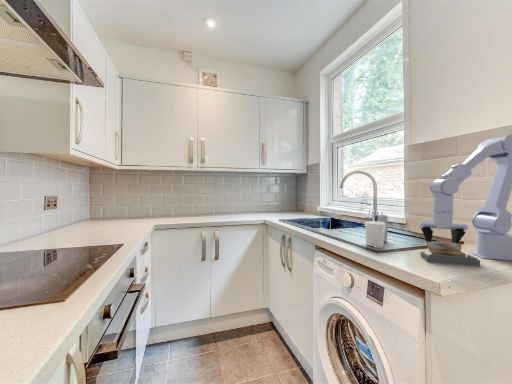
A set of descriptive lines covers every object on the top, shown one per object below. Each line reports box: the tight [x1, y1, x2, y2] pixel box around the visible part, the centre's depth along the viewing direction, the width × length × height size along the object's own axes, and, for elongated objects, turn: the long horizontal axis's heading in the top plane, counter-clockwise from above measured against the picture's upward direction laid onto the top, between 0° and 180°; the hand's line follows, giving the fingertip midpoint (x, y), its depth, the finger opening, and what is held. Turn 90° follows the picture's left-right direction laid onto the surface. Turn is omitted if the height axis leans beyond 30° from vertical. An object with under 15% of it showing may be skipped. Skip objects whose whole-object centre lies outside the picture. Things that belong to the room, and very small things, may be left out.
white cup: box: [364, 220, 386, 248], centre depth 105 cm, size 8×8×10 cm
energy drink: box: [374, 214, 389, 243], centre depth 113 cm, size 5×5×12 cm
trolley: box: [427, 241, 467, 257], centre depth 86 cm, size 10×5×4 cm, turn 73°
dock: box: [418, 250, 481, 267], centre depth 87 cm, size 15×11×3 cm
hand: (441, 248), depth 90 cm, fingers open, 7 cm apart
